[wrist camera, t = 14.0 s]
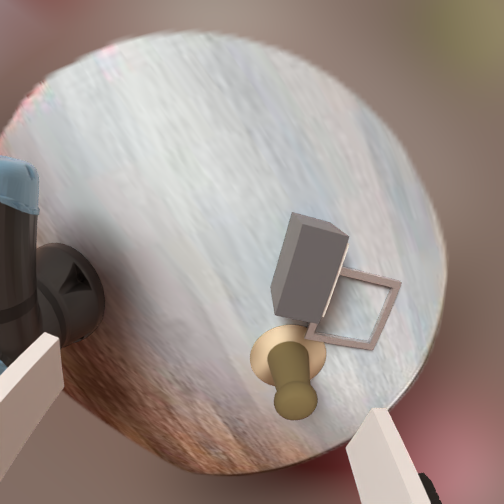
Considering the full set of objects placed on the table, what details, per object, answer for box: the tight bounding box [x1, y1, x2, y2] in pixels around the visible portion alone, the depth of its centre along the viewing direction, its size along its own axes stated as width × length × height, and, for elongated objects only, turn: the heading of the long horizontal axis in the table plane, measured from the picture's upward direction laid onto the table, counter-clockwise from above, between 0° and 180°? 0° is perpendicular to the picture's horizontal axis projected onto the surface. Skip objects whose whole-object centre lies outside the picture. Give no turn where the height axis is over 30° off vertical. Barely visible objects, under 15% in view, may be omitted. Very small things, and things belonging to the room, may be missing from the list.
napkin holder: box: [271, 212, 349, 324], centre depth 35 cm, size 5×10×8 cm, turn 166°
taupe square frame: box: [304, 266, 402, 350], centre depth 41 cm, size 11×11×1 cm
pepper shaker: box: [267, 341, 318, 420], centre depth 38 cm, size 6×6×11 cm
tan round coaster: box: [250, 325, 326, 386], centre depth 43 cm, size 11×11×1 cm
